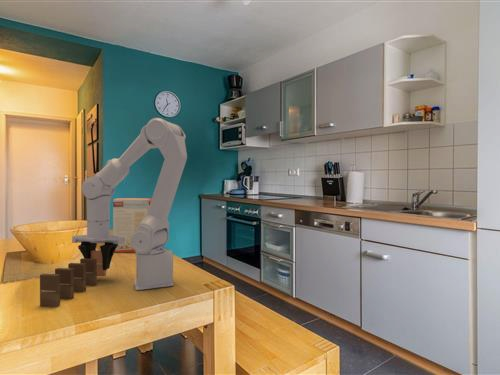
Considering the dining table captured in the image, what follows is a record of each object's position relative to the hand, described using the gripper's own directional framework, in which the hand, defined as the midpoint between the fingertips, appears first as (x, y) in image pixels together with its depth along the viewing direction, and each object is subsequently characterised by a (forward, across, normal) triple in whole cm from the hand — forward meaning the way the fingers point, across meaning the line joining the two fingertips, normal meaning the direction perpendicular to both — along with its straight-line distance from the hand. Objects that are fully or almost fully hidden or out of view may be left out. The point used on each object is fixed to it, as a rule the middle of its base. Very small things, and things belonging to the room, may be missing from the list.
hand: (98, 268), depth 86 cm
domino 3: (+3, 0, -9) cm, 10 cm away
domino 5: (+2, 0, 0) cm, 2 cm away
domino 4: (+3, 0, -4) cm, 5 cm away
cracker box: (+3, -7, +34) cm, 34 cm away
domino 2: (+3, 0, -14) cm, 14 cm away
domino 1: (+3, 0, -18) cm, 18 cm away
